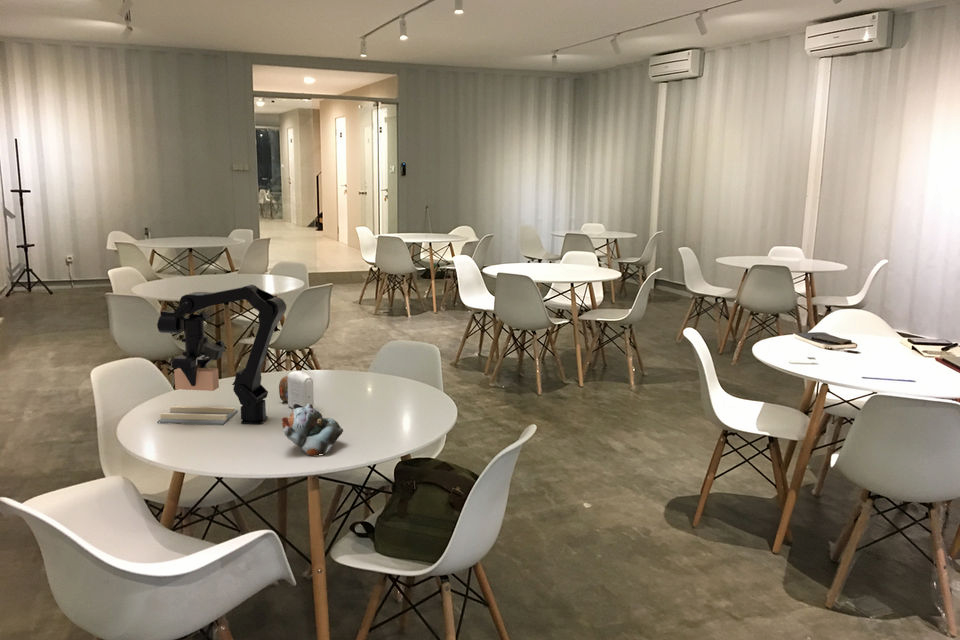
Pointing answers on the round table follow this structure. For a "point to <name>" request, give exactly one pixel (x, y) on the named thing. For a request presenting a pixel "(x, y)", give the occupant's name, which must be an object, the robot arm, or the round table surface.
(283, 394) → the tin
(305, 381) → the photo printer
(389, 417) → the round table surface
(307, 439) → the lucky cat figurine
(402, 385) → the round table surface
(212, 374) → the pink rectangular brick
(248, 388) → the robot arm
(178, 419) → the slot mat
